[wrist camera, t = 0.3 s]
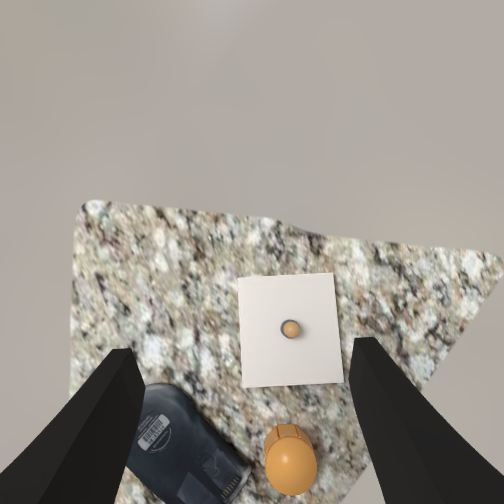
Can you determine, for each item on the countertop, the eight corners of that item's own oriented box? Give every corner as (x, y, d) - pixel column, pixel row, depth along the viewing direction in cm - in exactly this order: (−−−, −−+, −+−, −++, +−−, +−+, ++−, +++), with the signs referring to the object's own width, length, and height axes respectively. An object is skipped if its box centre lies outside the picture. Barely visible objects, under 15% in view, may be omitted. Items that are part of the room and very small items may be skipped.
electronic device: (256, 446, 39) (157, 363, 38) (258, 480, 33) (141, 383, 33) (204, 508, 39) (105, 425, 38) (197, 551, 33) (80, 455, 33)
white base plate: (339, 378, 38) (351, 388, 33) (243, 384, 38) (241, 394, 33) (329, 274, 40) (339, 269, 35) (238, 279, 40) (236, 274, 35)
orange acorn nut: (311, 472, 36) (319, 494, 32) (266, 474, 36) (267, 497, 32) (307, 422, 37) (314, 437, 33) (263, 425, 37) (264, 440, 33)
